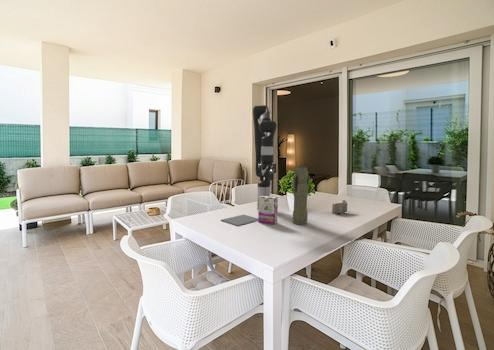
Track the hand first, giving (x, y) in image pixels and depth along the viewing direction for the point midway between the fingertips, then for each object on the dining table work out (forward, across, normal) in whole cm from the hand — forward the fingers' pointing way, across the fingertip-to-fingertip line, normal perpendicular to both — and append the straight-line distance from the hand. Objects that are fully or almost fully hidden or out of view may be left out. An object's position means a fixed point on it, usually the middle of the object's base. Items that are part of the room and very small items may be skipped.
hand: (266, 180), depth 178 cm
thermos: (+26, -15, +14) cm, 34 cm away
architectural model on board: (+27, -56, +17) cm, 65 cm away
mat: (+26, +9, -14) cm, 31 cm away
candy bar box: (+26, -1, +1) cm, 27 cm away
